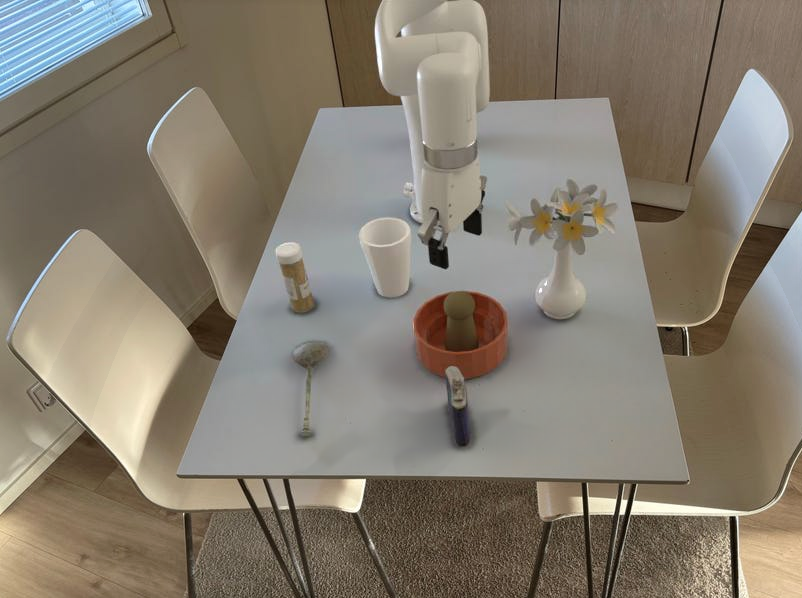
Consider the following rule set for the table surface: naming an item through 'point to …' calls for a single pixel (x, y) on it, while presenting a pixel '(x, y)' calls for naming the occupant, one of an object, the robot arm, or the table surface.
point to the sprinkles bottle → (295, 276)
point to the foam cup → (387, 254)
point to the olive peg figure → (460, 322)
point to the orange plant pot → (470, 363)
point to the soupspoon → (309, 371)
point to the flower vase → (564, 242)
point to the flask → (458, 405)
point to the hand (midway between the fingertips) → (456, 248)
